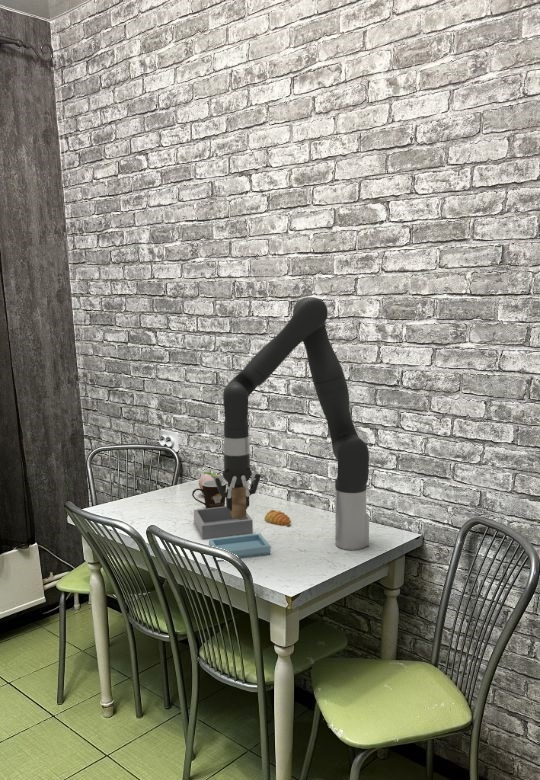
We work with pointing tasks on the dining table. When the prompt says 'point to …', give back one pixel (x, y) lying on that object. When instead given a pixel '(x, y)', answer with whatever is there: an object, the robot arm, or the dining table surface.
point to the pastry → (277, 518)
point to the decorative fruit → (206, 478)
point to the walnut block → (238, 502)
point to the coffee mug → (212, 494)
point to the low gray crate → (221, 523)
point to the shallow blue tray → (243, 545)
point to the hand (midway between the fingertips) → (238, 508)
